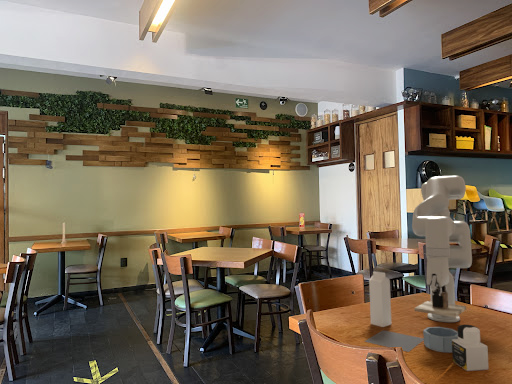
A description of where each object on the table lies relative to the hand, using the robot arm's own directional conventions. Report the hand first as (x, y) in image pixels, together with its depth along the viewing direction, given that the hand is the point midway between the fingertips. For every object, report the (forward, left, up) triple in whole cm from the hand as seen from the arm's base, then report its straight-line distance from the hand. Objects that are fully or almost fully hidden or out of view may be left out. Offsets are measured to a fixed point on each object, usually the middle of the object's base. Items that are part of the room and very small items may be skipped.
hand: (440, 305), depth 132 cm
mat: (+4, -15, -15) cm, 21 cm away
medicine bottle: (+10, +11, -15) cm, 21 cm away
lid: (0, 0, -2) cm, 2 cm away
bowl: (0, 0, -15) cm, 15 cm away
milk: (-11, -27, -15) cm, 33 cm away
